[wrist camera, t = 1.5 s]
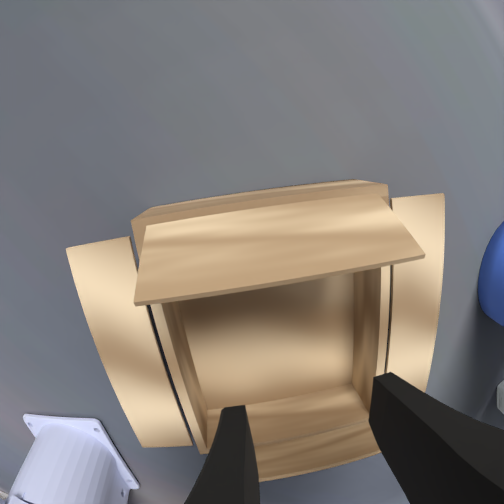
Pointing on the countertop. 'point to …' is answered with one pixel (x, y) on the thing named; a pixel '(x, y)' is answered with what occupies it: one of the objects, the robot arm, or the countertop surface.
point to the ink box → (500, 396)
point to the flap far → (315, 452)
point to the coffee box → (3, 495)
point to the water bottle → (493, 278)
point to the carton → (264, 330)
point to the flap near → (270, 248)
